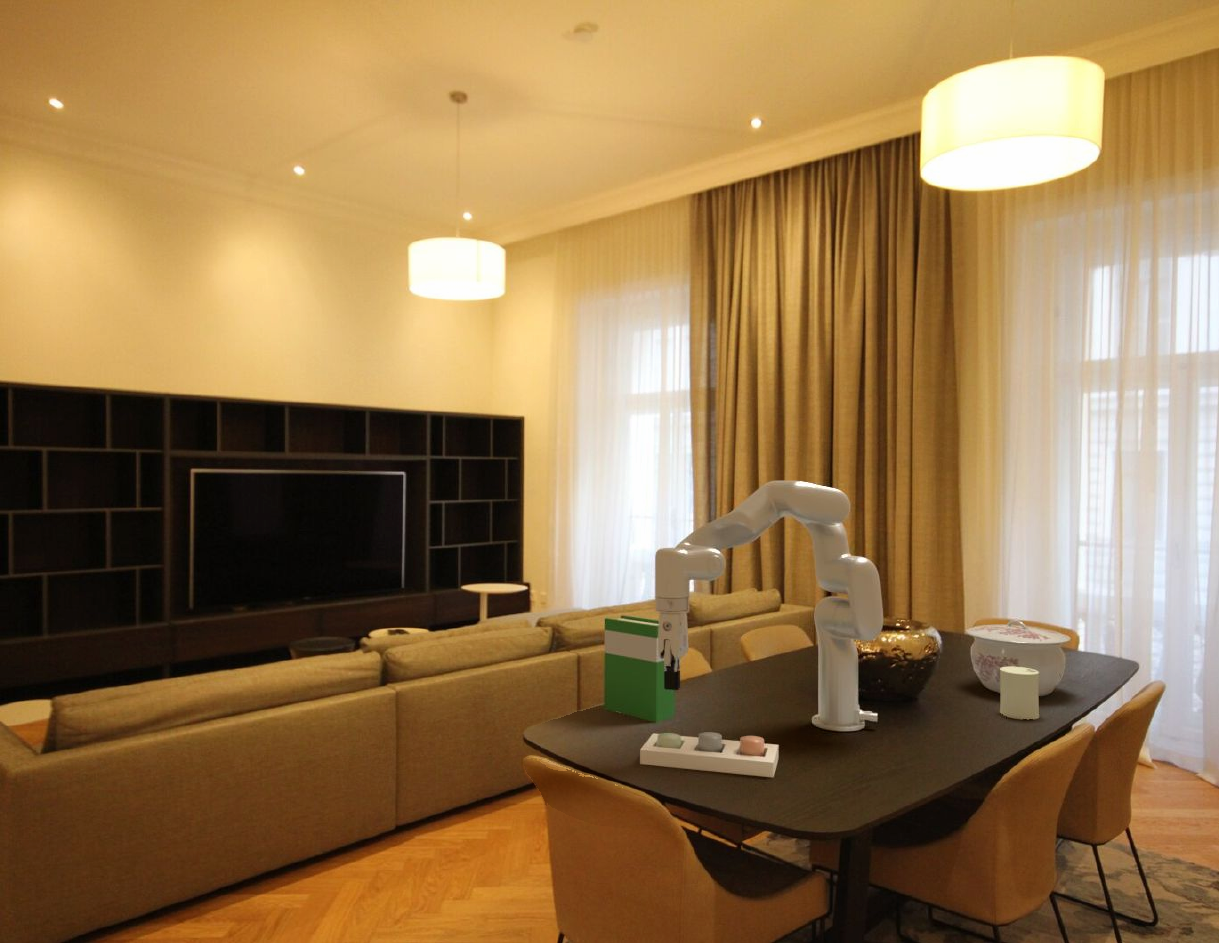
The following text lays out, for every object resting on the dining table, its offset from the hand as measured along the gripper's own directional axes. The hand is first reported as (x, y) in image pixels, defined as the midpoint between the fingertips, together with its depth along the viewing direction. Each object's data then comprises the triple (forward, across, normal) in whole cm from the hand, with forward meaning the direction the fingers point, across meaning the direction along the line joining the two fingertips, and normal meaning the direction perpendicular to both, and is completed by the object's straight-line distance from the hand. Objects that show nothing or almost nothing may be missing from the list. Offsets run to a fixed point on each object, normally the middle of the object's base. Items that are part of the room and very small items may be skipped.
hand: (672, 688), depth 180 cm
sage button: (+14, 0, +1) cm, 14 cm away
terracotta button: (+13, 0, -17) cm, 22 cm away
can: (+15, +60, -79) cm, 100 cm away
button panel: (+15, 0, -8) cm, 17 cm away
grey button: (+13, 0, -8) cm, 16 cm away
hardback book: (+15, +32, +16) cm, 39 cm away
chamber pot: (+15, +86, -83) cm, 120 cm away
